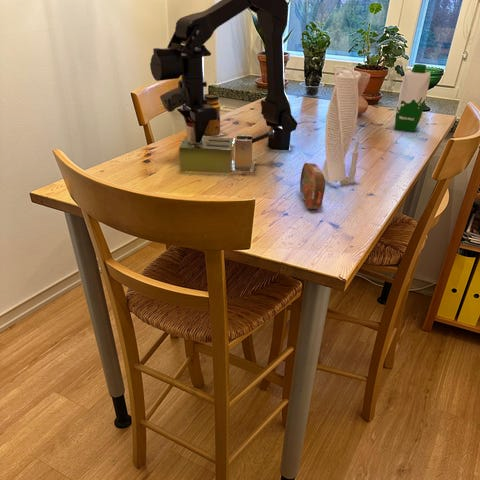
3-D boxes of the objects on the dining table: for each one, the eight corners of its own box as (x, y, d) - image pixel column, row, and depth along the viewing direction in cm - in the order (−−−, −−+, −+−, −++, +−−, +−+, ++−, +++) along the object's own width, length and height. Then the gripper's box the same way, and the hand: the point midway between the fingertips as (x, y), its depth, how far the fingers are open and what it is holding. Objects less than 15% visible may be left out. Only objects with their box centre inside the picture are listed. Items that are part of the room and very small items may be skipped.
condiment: (225, 135, 156) (225, 96, 149) (203, 138, 152) (202, 99, 145) (214, 129, 161) (213, 91, 154) (192, 133, 157) (191, 94, 150)
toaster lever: (275, 133, 127) (272, 124, 126) (274, 140, 122) (271, 131, 121) (241, 146, 130) (238, 138, 129) (240, 153, 125) (236, 145, 124)
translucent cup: (204, 139, 129) (203, 121, 126) (201, 144, 125) (201, 126, 122) (188, 139, 129) (187, 120, 126) (185, 143, 125) (184, 125, 123)
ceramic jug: (335, 106, 190) (340, 67, 181) (370, 111, 185) (377, 71, 176) (322, 117, 177) (327, 75, 168) (360, 122, 172) (367, 80, 163)
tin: (298, 190, 120) (301, 157, 115) (310, 189, 120) (314, 157, 115) (310, 215, 108) (314, 180, 103) (323, 215, 108) (328, 180, 103)
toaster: (234, 163, 135) (234, 137, 130) (231, 175, 127) (231, 149, 123) (184, 160, 136) (182, 135, 131) (177, 172, 128) (176, 146, 123)
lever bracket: (254, 165, 134) (255, 133, 128) (253, 175, 127) (254, 142, 122) (234, 164, 134) (234, 132, 129) (231, 174, 128) (231, 141, 122)
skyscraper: (328, 188, 121) (345, 68, 104) (312, 177, 127) (326, 62, 110) (355, 183, 124) (376, 66, 107) (338, 173, 130) (355, 60, 113)
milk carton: (419, 127, 169) (434, 65, 156) (416, 133, 162) (432, 69, 150) (394, 124, 171) (407, 63, 159) (391, 130, 165) (404, 67, 152)
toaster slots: (230, 140, 129) (230, 140, 129) (228, 146, 124) (228, 146, 124) (209, 139, 129) (208, 139, 129) (206, 145, 125) (206, 145, 125)
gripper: (150, 72, 121) (156, 133, 131) (174, 86, 108) (178, 154, 117) (190, 69, 125) (193, 129, 134) (218, 83, 112) (218, 149, 121)
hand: (194, 140), depth 127 cm, fingers closed on translucent cup, 4 cm apart
